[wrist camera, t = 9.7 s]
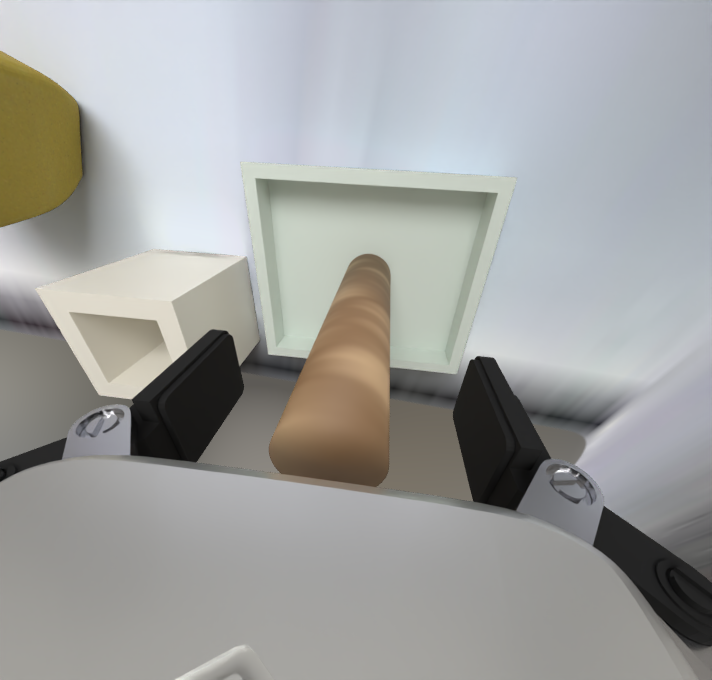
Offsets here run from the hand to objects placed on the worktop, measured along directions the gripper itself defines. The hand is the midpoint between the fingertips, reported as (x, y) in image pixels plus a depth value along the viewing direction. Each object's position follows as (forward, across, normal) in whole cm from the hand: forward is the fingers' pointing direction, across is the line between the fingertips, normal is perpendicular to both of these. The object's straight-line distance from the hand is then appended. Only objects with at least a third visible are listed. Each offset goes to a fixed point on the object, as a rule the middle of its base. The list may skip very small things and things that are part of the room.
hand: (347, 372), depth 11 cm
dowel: (+12, 0, 0) cm, 12 cm away
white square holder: (+13, +14, +4) cm, 19 cm away
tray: (+13, 0, 0) cm, 13 cm away
